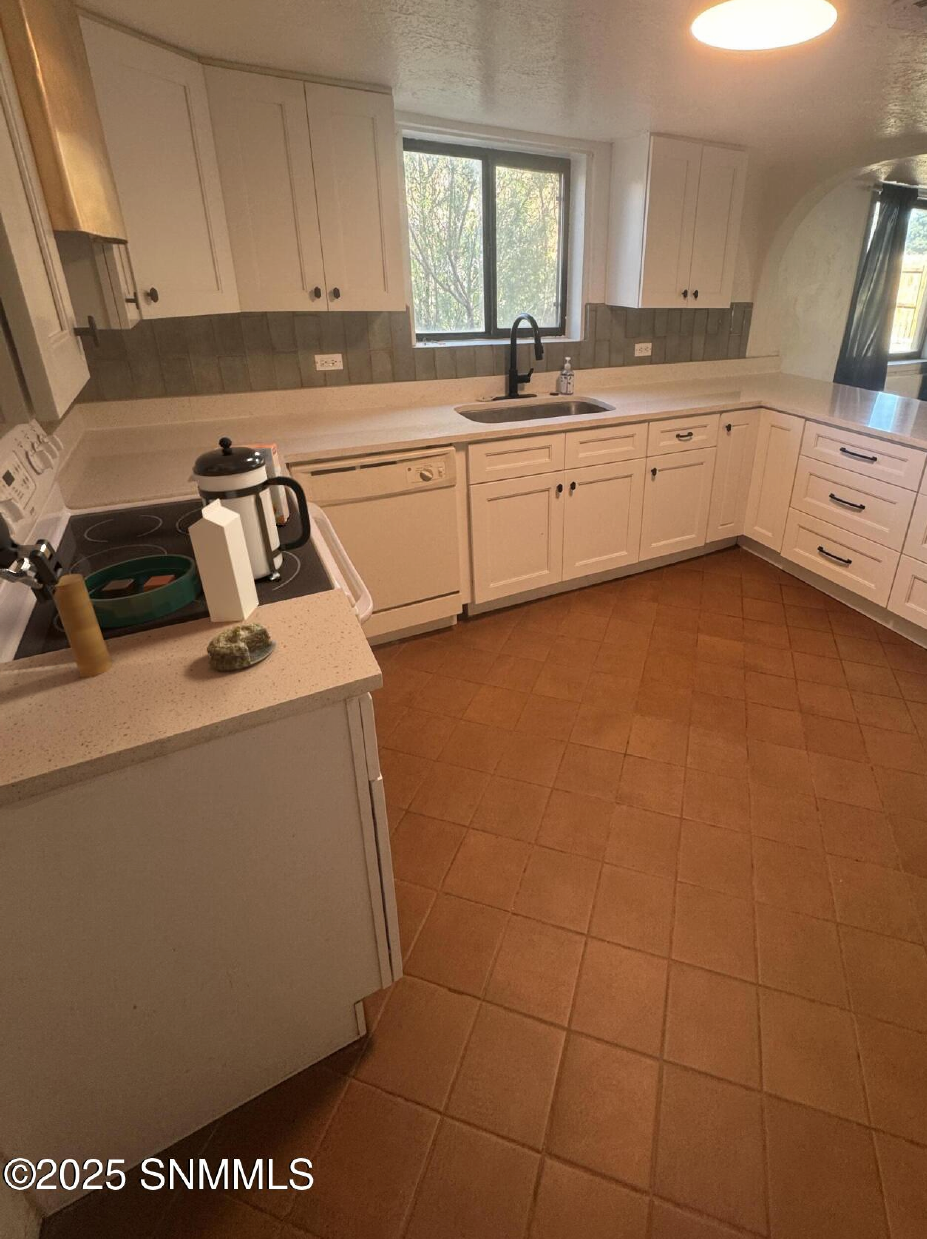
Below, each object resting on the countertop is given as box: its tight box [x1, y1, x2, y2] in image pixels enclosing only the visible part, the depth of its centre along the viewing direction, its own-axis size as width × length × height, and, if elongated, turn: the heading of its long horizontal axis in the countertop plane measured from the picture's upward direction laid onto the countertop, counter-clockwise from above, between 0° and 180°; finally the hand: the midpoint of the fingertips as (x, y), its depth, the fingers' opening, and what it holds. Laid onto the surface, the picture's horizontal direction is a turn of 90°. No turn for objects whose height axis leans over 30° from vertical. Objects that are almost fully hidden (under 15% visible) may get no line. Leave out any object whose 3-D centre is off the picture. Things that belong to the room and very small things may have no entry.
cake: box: [206, 622, 277, 672], centre depth 94 cm, size 10×10×5 cm
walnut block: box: [101, 579, 139, 599], centre depth 110 cm, size 4×4×4 cm
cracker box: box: [213, 442, 290, 523], centre depth 146 cm, size 14×6×21 cm, turn 102°
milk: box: [187, 499, 260, 623], centre depth 103 cm, size 6×6×22 cm
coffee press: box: [187, 436, 312, 584], centre depth 118 cm, size 17×16×30 cm
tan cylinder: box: [53, 573, 113, 678], centre depth 89 cm, size 4×4×16 cm
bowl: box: [83, 553, 202, 629], centre depth 111 cm, size 19×19×6 cm
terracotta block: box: [143, 575, 176, 592], centre depth 112 cm, size 4×4×4 cm
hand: (6, 599), depth 73 cm, fingers open, 8 cm apart
